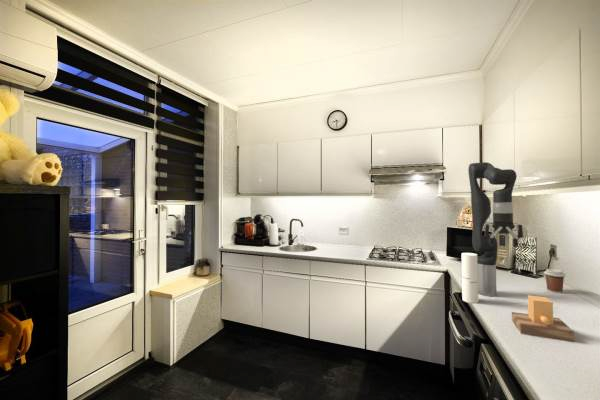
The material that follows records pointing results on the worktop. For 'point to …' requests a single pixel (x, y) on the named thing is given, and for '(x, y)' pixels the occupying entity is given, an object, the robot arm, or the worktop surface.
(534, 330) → the brown slab
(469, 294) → the cylindrical container
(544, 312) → the peach foam cube
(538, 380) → the worktop surface
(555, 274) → the coffee cup
